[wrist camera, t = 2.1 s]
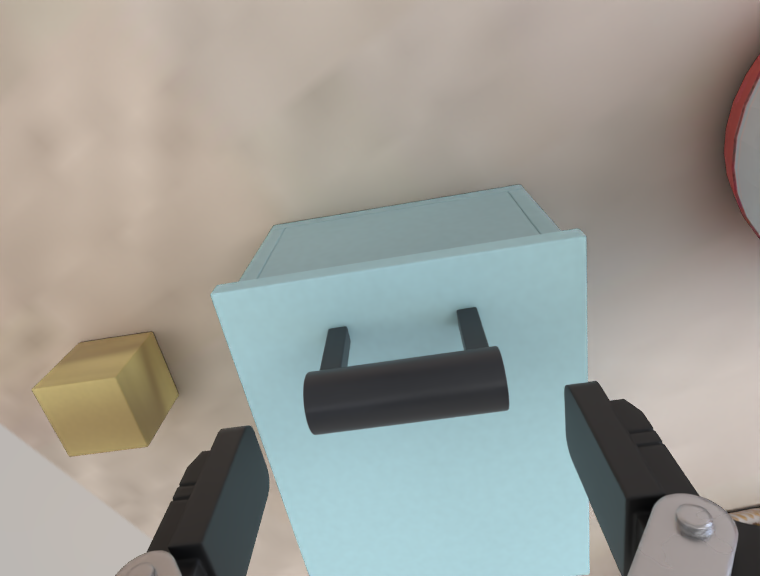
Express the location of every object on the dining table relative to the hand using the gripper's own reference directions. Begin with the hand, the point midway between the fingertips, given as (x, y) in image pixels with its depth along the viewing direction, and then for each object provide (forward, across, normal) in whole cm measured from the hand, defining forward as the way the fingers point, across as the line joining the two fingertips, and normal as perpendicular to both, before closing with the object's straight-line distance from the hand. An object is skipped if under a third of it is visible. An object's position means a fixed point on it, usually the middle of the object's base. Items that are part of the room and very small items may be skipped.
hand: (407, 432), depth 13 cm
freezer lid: (+6, 0, +6) cm, 9 cm away
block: (+15, +17, +6) cm, 23 cm away
